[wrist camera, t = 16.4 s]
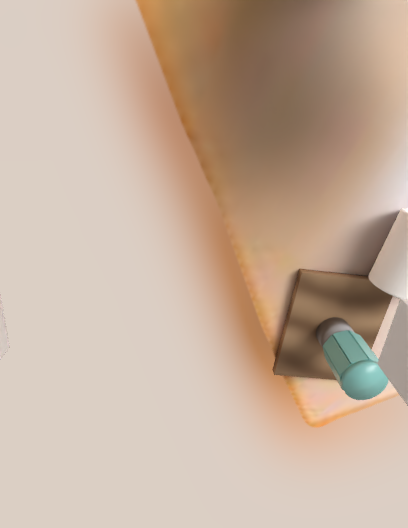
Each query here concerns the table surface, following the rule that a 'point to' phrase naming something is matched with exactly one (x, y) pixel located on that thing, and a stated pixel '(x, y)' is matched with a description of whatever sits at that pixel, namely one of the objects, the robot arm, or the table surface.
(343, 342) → the cap
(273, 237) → the table surface
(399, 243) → the mug
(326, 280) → the stud board
